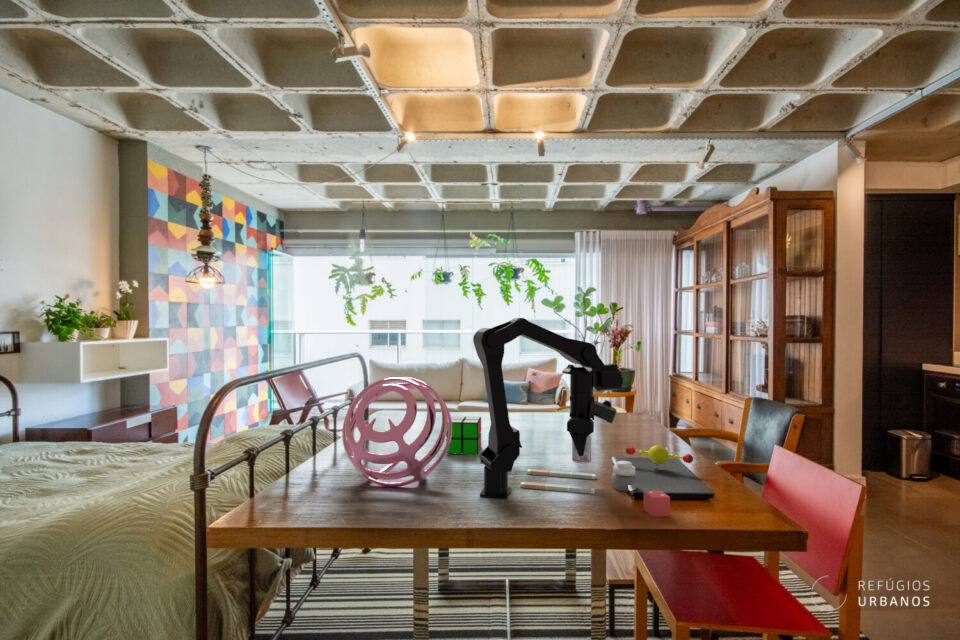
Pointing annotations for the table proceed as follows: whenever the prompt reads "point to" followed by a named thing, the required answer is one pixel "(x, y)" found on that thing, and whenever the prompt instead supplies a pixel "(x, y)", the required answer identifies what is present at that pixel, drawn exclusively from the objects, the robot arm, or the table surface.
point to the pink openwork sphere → (395, 433)
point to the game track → (617, 480)
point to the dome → (624, 468)
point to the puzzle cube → (465, 435)
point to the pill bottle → (587, 453)
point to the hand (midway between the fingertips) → (581, 453)
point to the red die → (656, 503)
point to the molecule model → (659, 454)
